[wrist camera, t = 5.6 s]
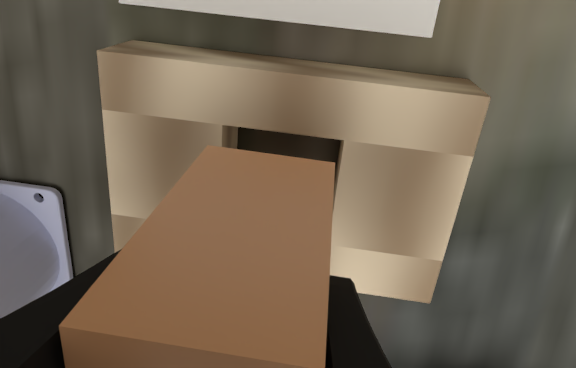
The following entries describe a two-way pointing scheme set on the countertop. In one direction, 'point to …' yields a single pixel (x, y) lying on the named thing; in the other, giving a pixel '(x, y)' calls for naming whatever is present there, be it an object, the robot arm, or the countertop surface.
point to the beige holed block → (303, 121)
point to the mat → (322, 12)
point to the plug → (217, 272)
